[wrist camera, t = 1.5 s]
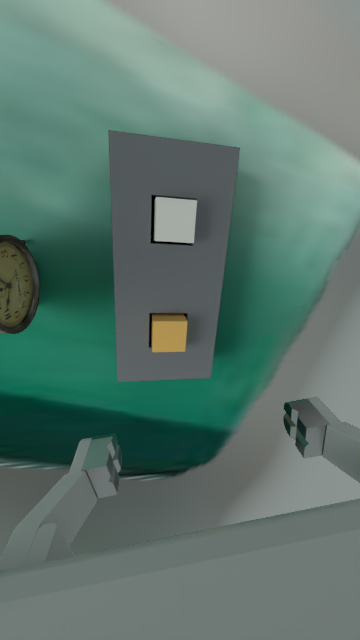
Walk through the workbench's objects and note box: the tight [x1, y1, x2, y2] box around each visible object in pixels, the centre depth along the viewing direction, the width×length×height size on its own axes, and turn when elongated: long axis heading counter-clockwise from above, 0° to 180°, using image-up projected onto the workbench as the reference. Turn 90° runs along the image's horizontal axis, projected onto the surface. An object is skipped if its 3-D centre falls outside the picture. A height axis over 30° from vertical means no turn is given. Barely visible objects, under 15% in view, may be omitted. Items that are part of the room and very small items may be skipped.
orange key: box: [151, 313, 188, 352], centre depth 32 cm, size 4×4×3 cm
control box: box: [109, 130, 240, 382], centre depth 33 cm, size 14×30×6 cm, turn 176°
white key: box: [154, 197, 197, 243], centre depth 27 cm, size 4×4×3 cm
